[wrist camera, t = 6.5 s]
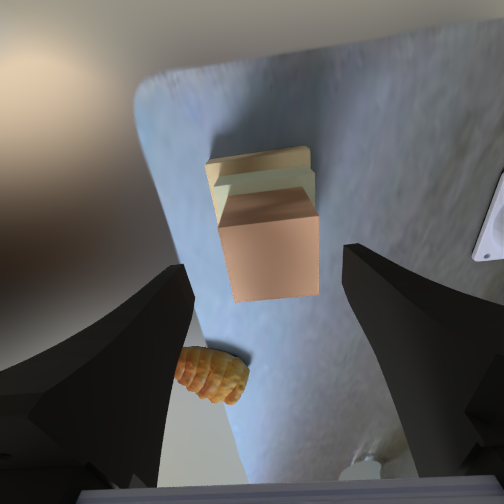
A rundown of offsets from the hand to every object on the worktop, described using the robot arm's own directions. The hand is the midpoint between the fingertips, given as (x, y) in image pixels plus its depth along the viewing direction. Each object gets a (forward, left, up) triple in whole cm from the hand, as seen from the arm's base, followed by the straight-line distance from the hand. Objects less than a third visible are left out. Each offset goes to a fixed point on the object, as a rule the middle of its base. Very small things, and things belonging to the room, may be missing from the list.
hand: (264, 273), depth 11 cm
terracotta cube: (0, 0, -5) cm, 5 cm away
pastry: (+9, +20, -10) cm, 24 cm away
